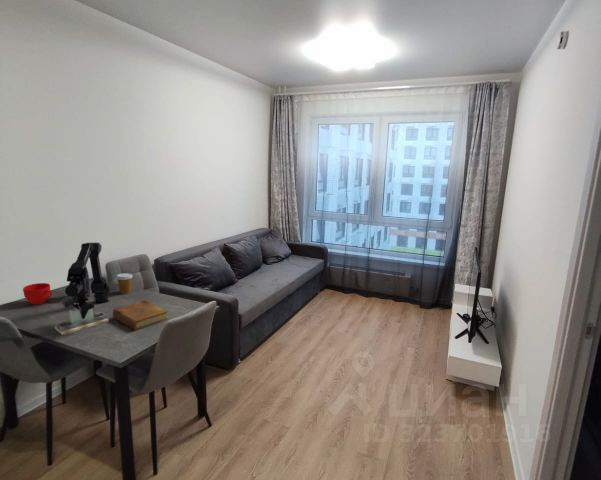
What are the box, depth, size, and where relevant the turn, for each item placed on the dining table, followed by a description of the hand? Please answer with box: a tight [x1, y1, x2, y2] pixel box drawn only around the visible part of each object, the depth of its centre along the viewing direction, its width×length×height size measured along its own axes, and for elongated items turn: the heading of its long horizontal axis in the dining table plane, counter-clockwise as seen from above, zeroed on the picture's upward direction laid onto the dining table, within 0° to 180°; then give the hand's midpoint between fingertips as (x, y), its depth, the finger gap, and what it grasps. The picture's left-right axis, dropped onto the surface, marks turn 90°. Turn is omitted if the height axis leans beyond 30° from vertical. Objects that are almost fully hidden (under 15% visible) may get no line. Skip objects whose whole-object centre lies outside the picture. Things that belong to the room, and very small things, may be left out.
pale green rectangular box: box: [68, 307, 94, 324], centre depth 184 cm, size 10×3×7 cm, turn 141°
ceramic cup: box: [22, 282, 53, 305], centre depth 210 cm, size 13×17×10 cm
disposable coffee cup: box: [116, 272, 134, 295], centre depth 232 cm, size 10×10×12 cm
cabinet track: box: [54, 311, 109, 336], centre depth 185 cm, size 22×10×3 cm, turn 141°
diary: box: [112, 300, 169, 332], centre depth 195 cm, size 23×19×6 cm
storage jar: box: [71, 273, 91, 299], centre depth 221 cm, size 10×10×15 cm
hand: (82, 317), depth 185 cm, fingers closed on pale green rectangular box, 3 cm apart
